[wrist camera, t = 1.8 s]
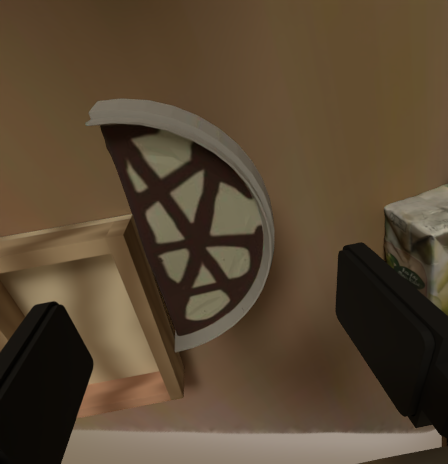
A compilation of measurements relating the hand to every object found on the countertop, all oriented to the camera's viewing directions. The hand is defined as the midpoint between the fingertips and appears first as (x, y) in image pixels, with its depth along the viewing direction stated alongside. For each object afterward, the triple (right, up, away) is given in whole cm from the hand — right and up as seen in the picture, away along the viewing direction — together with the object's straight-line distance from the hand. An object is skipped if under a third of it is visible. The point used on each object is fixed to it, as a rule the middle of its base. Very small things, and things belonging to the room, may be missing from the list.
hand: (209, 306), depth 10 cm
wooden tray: (-11, -5, +16) cm, 20 cm away
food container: (-1, +7, +11) cm, 13 cm away
